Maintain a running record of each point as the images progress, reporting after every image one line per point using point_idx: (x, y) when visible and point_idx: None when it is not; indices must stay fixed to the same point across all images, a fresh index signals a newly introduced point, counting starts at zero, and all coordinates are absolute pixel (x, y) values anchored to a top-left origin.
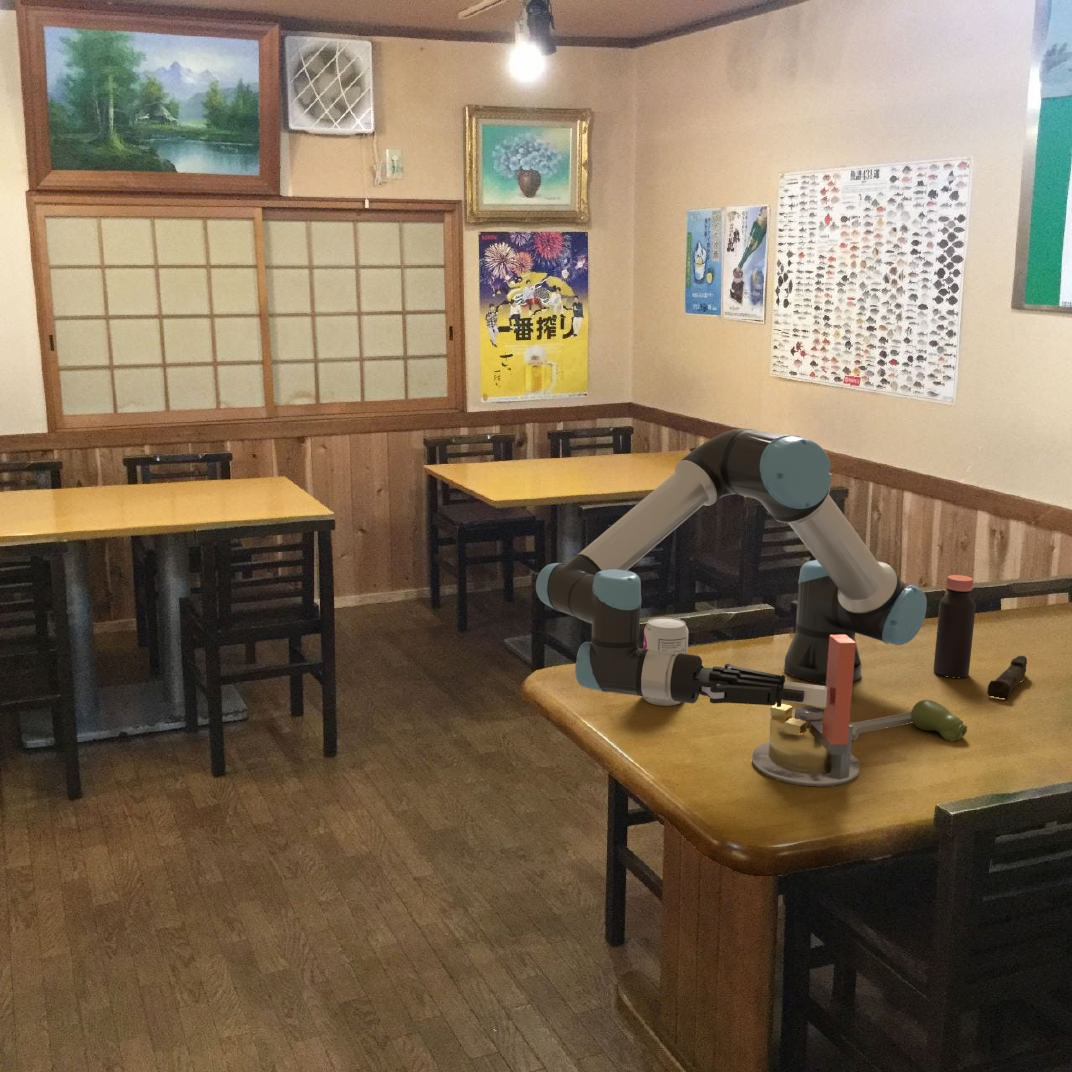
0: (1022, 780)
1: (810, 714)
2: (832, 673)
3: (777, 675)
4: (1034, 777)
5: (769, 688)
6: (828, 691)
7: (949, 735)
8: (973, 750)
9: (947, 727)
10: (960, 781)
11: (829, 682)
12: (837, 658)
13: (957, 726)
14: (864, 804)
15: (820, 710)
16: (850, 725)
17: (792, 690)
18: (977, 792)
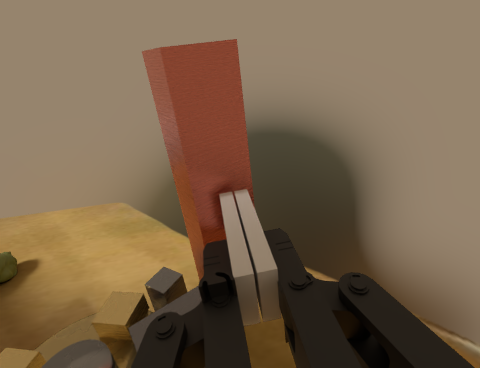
0: (127, 216)
1: (93, 366)
2: (221, 151)
3: (165, 329)
4: (119, 212)
5: (366, 296)
6: (216, 207)
7: (9, 271)
8: (49, 253)
9: (2, 266)
10: (141, 245)
11: (213, 184)
12: (236, 93)
13: (6, 256)
14: None
15: (60, 352)
16: (162, 270)
17: (278, 253)
18: (166, 231)
